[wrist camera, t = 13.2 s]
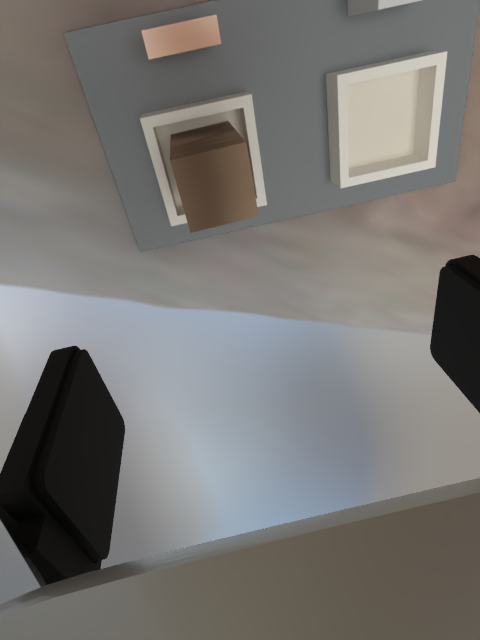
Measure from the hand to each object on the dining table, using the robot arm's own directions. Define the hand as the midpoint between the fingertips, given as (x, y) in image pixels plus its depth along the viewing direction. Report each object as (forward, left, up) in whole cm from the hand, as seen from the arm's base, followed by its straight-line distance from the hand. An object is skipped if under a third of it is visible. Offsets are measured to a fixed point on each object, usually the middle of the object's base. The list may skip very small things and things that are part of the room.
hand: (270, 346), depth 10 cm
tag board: (-7, -1, -26) cm, 27 cm away
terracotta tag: (0, -7, -25) cm, 26 cm away
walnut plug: (0, 0, -25) cm, 25 cm away
